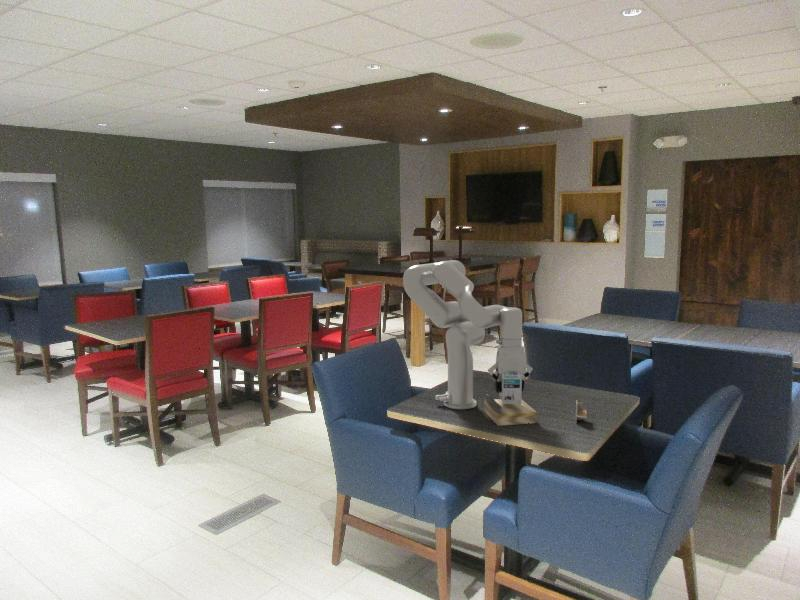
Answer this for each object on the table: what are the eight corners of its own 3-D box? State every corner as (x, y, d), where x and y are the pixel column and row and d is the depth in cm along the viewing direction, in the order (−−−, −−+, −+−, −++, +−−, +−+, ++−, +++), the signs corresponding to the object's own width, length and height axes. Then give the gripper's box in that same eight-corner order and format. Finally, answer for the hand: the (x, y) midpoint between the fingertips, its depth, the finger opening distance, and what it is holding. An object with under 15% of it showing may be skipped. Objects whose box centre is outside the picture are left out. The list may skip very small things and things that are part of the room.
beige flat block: (497, 425, 202) (498, 407, 201) (483, 410, 218) (484, 393, 217) (536, 423, 204) (536, 405, 203) (519, 408, 220) (520, 391, 219)
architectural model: (585, 420, 208) (586, 400, 207) (586, 427, 202) (587, 406, 201) (575, 419, 209) (576, 399, 208) (575, 426, 203) (576, 405, 202)
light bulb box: (522, 404, 205) (522, 374, 203) (502, 404, 205) (503, 374, 203) (516, 395, 215) (517, 366, 214) (498, 395, 216) (498, 366, 214)
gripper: (490, 345, 202) (489, 395, 205) (538, 343, 205) (537, 392, 207) (483, 341, 210) (483, 389, 212) (530, 339, 212) (529, 386, 215)
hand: (510, 390), depth 210 cm, fingers closed on light bulb box, 7 cm apart
